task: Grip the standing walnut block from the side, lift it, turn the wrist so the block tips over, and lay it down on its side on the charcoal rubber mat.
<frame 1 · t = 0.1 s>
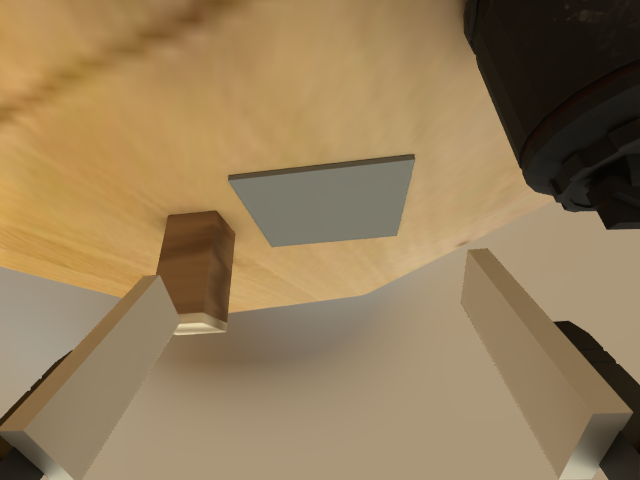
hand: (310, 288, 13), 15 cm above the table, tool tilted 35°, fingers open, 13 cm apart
mat: (327, 208, 36), on the table
block: (203, 225, 38), on the table
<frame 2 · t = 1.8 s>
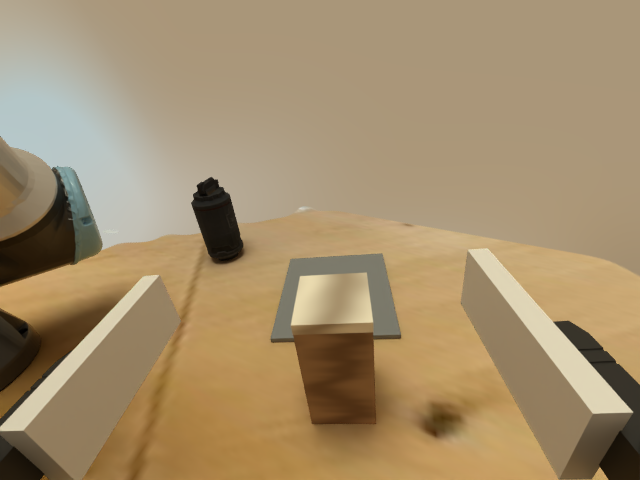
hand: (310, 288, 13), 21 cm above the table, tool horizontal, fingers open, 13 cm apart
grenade: (228, 254, 58), on the table
mat: (335, 292, 45), on the table
block: (343, 393, 31), on the table
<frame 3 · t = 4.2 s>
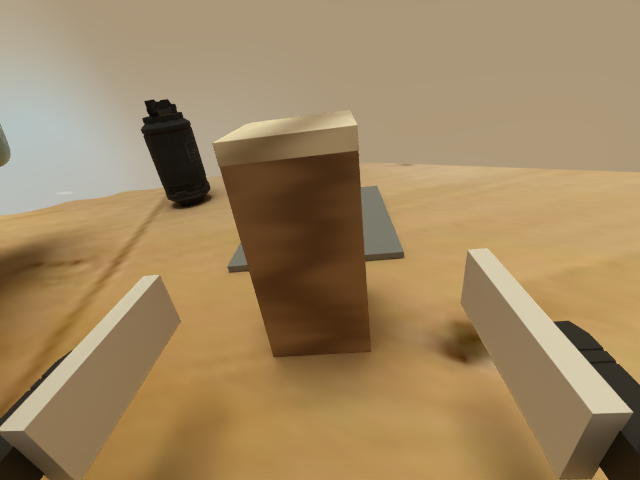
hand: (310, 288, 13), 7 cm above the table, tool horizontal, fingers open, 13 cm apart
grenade: (193, 201, 49), on the table
mat: (318, 222, 35), on the table
block: (322, 319, 21), on the table
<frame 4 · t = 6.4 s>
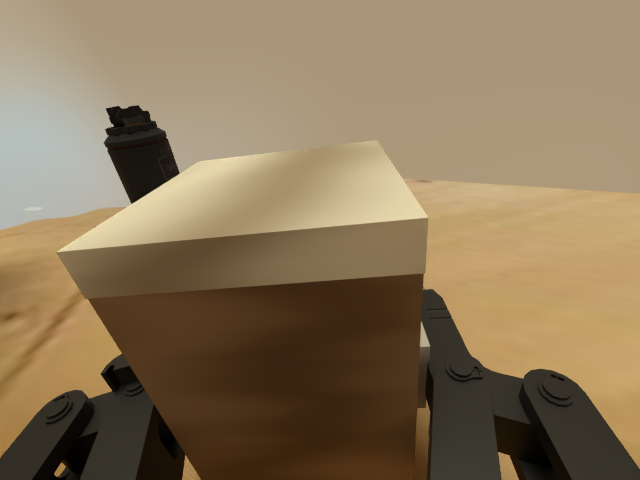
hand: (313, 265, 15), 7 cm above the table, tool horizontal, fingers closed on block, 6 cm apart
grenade: (172, 225, 41), on the table
block: (327, 458, 13), on the table, touching gripper
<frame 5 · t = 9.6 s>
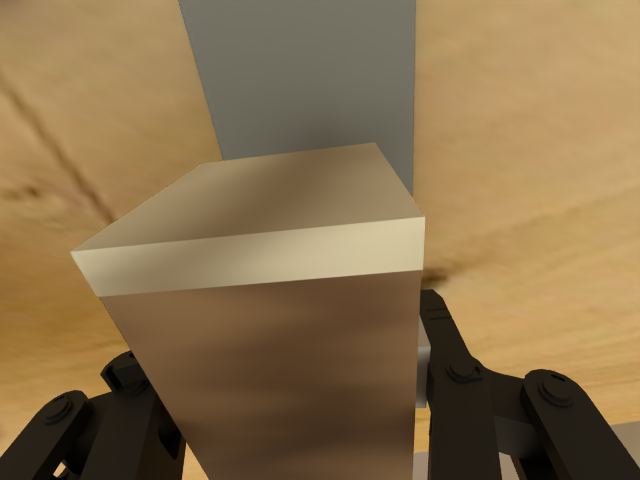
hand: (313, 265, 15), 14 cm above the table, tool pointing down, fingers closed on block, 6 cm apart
mat: (309, 102, 24), on the table
block: (327, 454, 14), point 19 cm above the table, tilted 90°, touching gripper
when the fingers open (1 cm above the table, at t = 11.9 s): block drops 1 cm, resting on mat.
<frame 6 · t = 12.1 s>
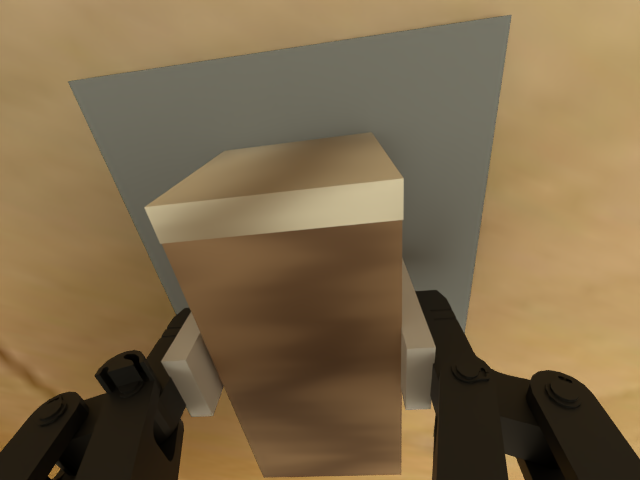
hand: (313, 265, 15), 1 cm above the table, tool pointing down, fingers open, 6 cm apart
mat: (310, 256, 15), on the table
block: (331, 408, 16), point 4 cm above the table, tilted 90°, touching gripper, mat
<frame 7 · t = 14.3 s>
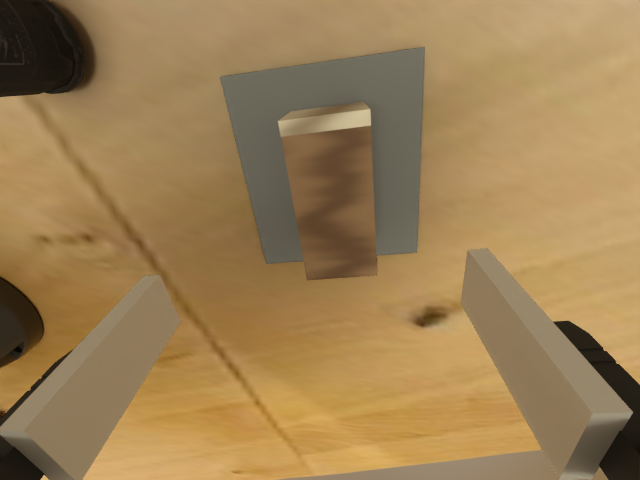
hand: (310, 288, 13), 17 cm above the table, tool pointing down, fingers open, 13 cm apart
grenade: (55, 43, 24), on the table
mat: (330, 173, 28), on the table
block: (341, 258, 28), point 4 cm above the table, tilted 90°, touching mat
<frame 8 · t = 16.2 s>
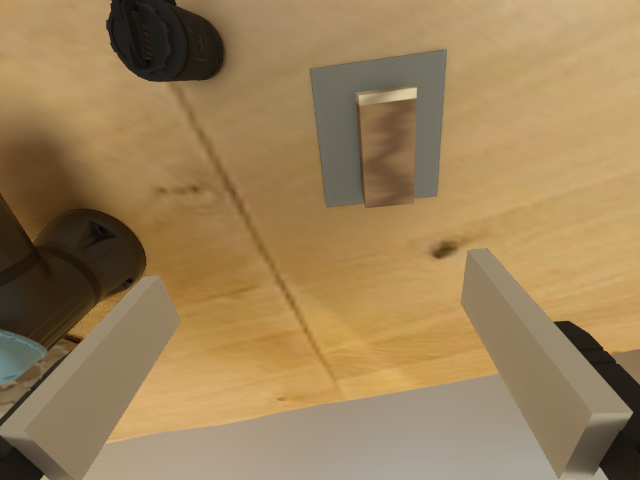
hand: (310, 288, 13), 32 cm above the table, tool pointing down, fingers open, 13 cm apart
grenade: (199, 46, 36), on the table
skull: (57, 350, 64), on the table
mat: (378, 137, 40), on the table
block: (385, 197, 40), point 4 cm above the table, tilted 90°, touching mat
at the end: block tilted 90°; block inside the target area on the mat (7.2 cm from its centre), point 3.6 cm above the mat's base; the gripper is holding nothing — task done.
